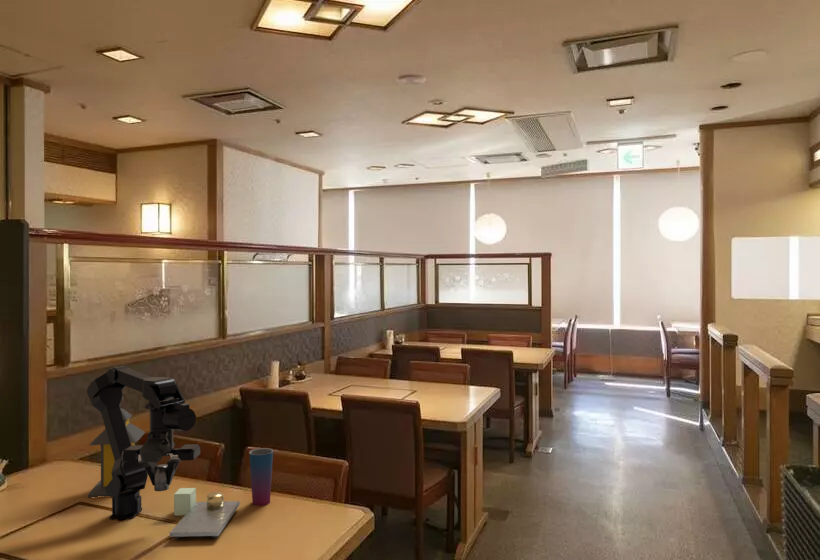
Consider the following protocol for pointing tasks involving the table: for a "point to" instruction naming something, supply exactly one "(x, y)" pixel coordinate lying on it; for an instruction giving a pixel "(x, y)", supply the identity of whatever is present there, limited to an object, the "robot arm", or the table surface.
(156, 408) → the robot arm
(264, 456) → the cup
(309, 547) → the table surface
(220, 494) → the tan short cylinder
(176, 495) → the green block
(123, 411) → the lantern
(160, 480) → the black peg
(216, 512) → the grey flat plate
